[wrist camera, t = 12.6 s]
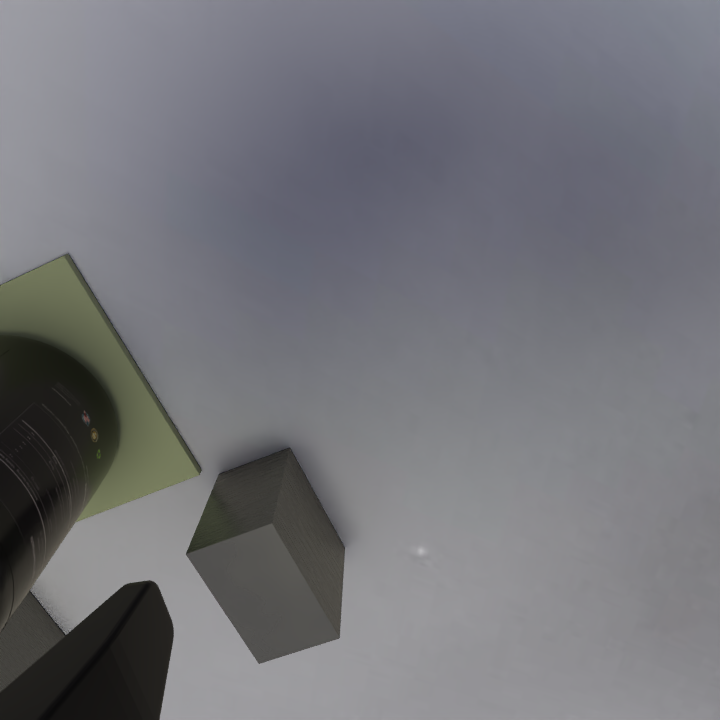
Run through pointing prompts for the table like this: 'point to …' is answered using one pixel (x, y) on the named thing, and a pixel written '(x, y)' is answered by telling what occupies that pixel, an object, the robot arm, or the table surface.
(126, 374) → the mat
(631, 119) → the table surface
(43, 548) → the supplement bottle
